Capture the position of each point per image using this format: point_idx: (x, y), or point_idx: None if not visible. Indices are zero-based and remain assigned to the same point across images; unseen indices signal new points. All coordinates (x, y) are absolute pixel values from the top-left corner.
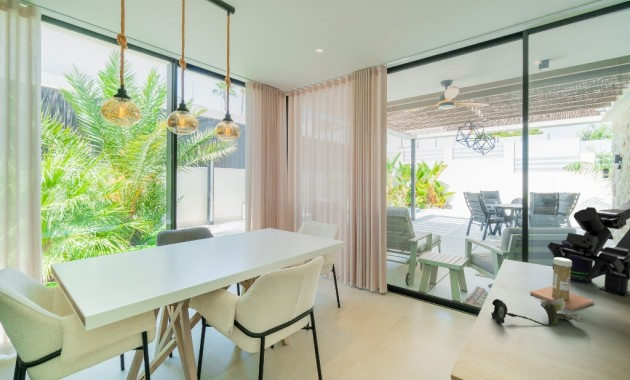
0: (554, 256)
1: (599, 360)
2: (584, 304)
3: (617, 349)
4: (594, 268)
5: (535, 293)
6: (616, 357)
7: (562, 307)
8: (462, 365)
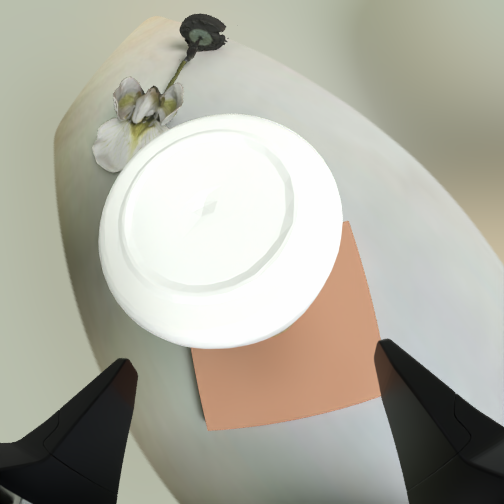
0: (486, 423)
1: (73, 123)
2: (192, 353)
3: (61, 177)
4: (50, 429)
5: None
6: (60, 154)
7: (120, 108)
8: (157, 16)
